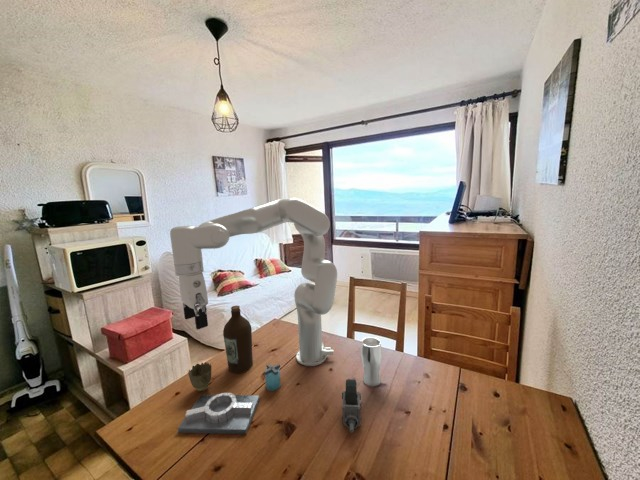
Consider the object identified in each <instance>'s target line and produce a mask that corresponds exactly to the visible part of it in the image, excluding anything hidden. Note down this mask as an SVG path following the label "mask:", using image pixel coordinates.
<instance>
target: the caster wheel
mask: <svg viewBox="0 0 640 480" xmlns="http://www.w3.org/2000/svg"><path fill="white" fill-rule="evenodd" d="M357 390H358V389H357V380H356V379H351V378H350V379H349V378H348V379H346V380H345V390H343V391H342V392H341V399H342V407H341V408H342V417H341V418H342V424H343V426H344V427H347V428H348V429H349V433H350V434H353V433H354V432H355V429H357V428H359V427H360V426H361V424H362V423H361V421H362V417H361V410H362V407H361V400H362V397H361V392H360V391H357Z"/></svg>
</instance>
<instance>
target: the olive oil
mask: <svg viewBox="0 0 640 480" xmlns="http://www.w3.org/2000/svg"><path fill="white" fill-rule="evenodd" d="M230 312H231V313H230V314H231V315H230V316H231V317H230V318H229V320H228V321H227V322H226V323H225V325H224V327H223V331H222V336H223V342H224V347H225V348H224V349H225V354H226V360H227V366H228V371H229V372H230V373H232V374H242V373H246V372H247V371H249V370H250V369H251V368H252V367H253V364H254V363H253V362H254V360H253V342H252V341H253V335H252V333H253V332H252V325H251V322H250V321H249V320H248V319H247V318H245V317H244V316H242V315H241V308H240V305H232V306H231V307H230Z"/></svg>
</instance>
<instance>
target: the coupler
mask: <svg viewBox="0 0 640 480" xmlns="http://www.w3.org/2000/svg"><path fill="white" fill-rule="evenodd" d="M280 368H281V365H280V363H277V364H274V365H272V364H270V363H267V364H266V369H265V370H263V374H264V377H265V378H264V379H265V389H266V390H267V391H268V392H274V391H277V390H279V389H280V388H281V374H280Z"/></svg>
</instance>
